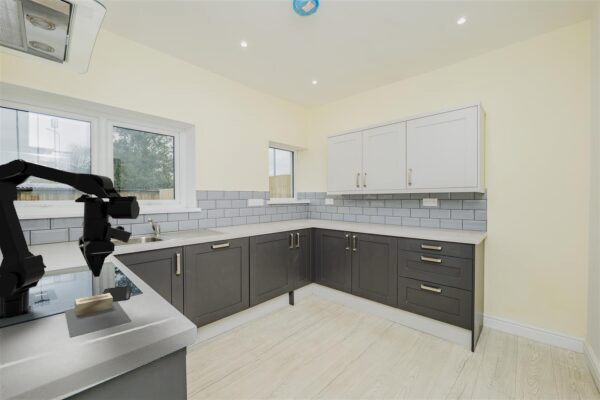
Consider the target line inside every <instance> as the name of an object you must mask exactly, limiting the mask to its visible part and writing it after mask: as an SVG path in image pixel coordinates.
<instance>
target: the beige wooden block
mask: <svg viewBox="0 0 600 400" xmlns="http://www.w3.org/2000/svg"><path fill="white" fill-rule="evenodd" d="M112 307H113V297H112V296H111V294H110V293H107V294H103V293H102V294H97V295H91V296H86V297H81V298H75V299H74V308H75V309H74V308H73V309H74V310H75V314H76V316H78V315H82V314H87V313H91V312H96V311H100V310H105V309H109V308H112Z"/></svg>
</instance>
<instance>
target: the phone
mask: <svg viewBox="0 0 600 400" xmlns="http://www.w3.org/2000/svg"><path fill="white" fill-rule="evenodd" d="M131 291H132V285H127V286H126V285H125V286H116V287H108V288H105V289H104V290H103V292H102V294H107V293H110V294H111V296H112V297H113V302H115V301H117V302H123V301H128V300H130V298H131Z"/></svg>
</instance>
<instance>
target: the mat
mask: <svg viewBox="0 0 600 400" xmlns="http://www.w3.org/2000/svg"><path fill="white" fill-rule="evenodd" d="M74 309H75V307H74V308H70V309H65V310H64V314H65V319H66V324H67V328H68V329H67V330H68V335H69V338H74V337H78V336H79V337H80V336H83V335H86V334H90V333H94V332H97V331H100V330H102V331H103V330H105V329H110V328H113V327H116V326H120V325H121V326H122V325H123V324H128V323H132V322H133V321H132V319H131V318H130V317H129V316H128V314H127V313H126V311H125V310H124V308H123V307H122V306H121V304H120V303H119V301H115V302H113V307H112V308H109V309H105V310H100V311H96V312H91V313H87V314H82V315H78V316H76V314H75V310H74Z"/></svg>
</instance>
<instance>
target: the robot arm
mask: <svg viewBox="0 0 600 400" xmlns="http://www.w3.org/2000/svg"><path fill="white" fill-rule="evenodd" d="M30 177H33V178H38V179H42V180H45V181H46V180H47V181H50V182H55V183H59V184H63V185H67V186H69V187H71V188H72V189H75V190H76V191H79V192H82V193H83V194H81V196H79V197H78V198H76V199H75V200H74V202H75V203H83V220H82V223H81V224H82V235H81V236H80V237H79V238H78V243H77V245H78V248H79V250H80V252H81V254H82V256H83V258H84V259H83V260H85V263H86V264H87V267H88V270H89V271H91V273H92V275H93V277H94V278H99V277H100V276H101V273H102V269H103V266H104V264H105V261H106V258H107V257H109V256H110V255H112V254H113V253H114V252H115V248H116V247H115V246H116V244H115V243H114V242H113V241H112V239H113V240H117V241H120V242H123V243H124V244H125V243H126V244H128V242H129V241H130V238H131V236H132V232H131V231H127V230H126V229H125V226H121V225H117V226H115V227H112V223H111V222H110V221H109V220H110V219H109V218H110V217H111V218H112V219H113V220H137V219H138V218H139V215H140V209H141V208H140V205H139V201H138V200H137V196H136V195H128V196H121V194H120V193H119V192H118V190H117V189H116V188H115V187H114V182H113V180H112V179H111V178H110V177H108V176H105V175H99V174H93V173H81V172H74V171H69V170H65V169H61V168H57V167H53V166H49V165H45V164H40V163H37V162H35V161H32V160H26V159H21V158H17V159H14V160H11V161H9V162H6V163H3V164H0V252H1V255H2V260H1V262H0V320H2V319H3V320H4V319H8V318H13V317H17V316H18V317H19V316H24V315H27V314H30V313H32V312H31V311H32V306H31V305H30V289H32V288H36V287H37V286H38V284H39V282H40V280H41V279H42V278H43V276H44V275H45V272H46V271H45V269H46V268H47V265H45V263H44V257H43V255H42V254H37V255H35V254H33V253H32V252H31V251H30V249H29V247H28V244H27V241H26V238H25V234H24V231H23V227H22V226H21V225H22V224H21V222H20V218H19V215H18V213H17V210H16V206H15V203H14V201H15V199H16V196H17V194H18V186H20V185H22V184H24V183H25V182H26V181H27V180H28V179H29V178H30ZM90 195H92V196H90ZM105 199H106V200H105ZM107 199H108V200H107Z"/></svg>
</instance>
